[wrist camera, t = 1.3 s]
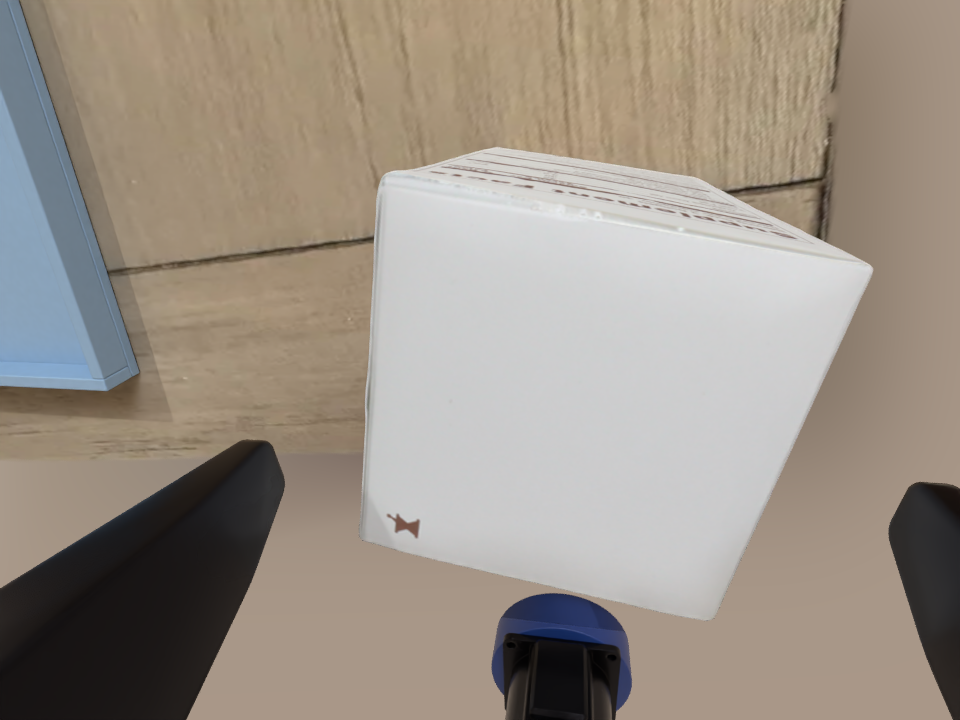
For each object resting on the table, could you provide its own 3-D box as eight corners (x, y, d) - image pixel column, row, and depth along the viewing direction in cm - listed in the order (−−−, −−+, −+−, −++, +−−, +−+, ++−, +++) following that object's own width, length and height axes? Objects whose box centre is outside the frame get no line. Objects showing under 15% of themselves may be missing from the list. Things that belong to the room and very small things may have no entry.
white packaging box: (644, 365, 22) (714, 641, 10) (463, 328, 22) (342, 550, 11) (703, 173, 18) (901, 265, 7) (491, 137, 19) (362, 169, 8)
